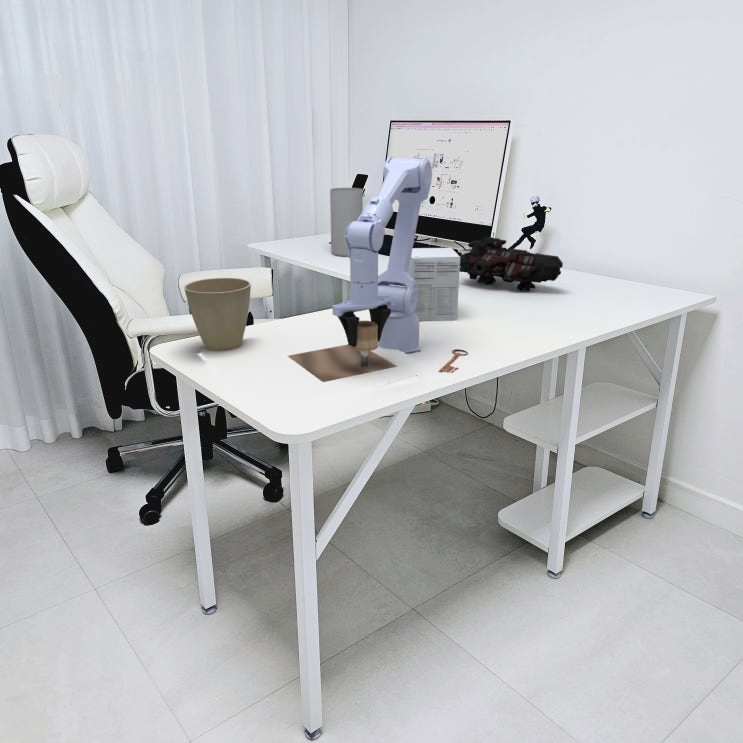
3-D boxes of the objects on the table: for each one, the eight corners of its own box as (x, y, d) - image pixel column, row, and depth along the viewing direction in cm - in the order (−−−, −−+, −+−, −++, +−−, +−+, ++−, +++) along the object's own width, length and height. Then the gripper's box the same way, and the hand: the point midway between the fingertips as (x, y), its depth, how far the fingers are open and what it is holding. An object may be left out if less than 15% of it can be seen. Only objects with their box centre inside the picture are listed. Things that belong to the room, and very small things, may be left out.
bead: (367, 340, 145) (367, 319, 143) (382, 347, 141) (382, 325, 139) (346, 345, 142) (345, 323, 140) (361, 352, 138) (360, 330, 136)
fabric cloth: (357, 348, 158) (356, 342, 157) (397, 372, 143) (397, 366, 143) (287, 362, 149) (287, 355, 148) (323, 388, 135) (323, 382, 134)
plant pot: (264, 342, 162) (260, 278, 156) (239, 363, 148) (234, 294, 142) (208, 338, 165) (202, 275, 159) (179, 358, 151) (171, 290, 145)
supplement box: (458, 320, 179) (461, 256, 173) (409, 321, 178) (411, 257, 172) (449, 307, 191) (452, 247, 185) (404, 308, 190) (405, 247, 184)
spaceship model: (545, 302, 197) (550, 252, 191) (451, 285, 215) (453, 239, 210) (570, 289, 211) (575, 242, 206) (480, 275, 229) (482, 231, 224)
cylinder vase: (350, 258, 255) (350, 191, 246) (325, 254, 261) (323, 189, 252) (368, 253, 265) (368, 188, 256) (343, 249, 271) (342, 187, 262)
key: (456, 378, 142) (477, 356, 155) (457, 374, 142) (478, 352, 154) (431, 371, 144) (454, 350, 157) (432, 368, 144) (454, 347, 157)
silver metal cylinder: (365, 363, 144) (365, 337, 142) (369, 365, 143) (369, 339, 140) (359, 364, 143) (359, 338, 141) (363, 367, 142) (362, 340, 140)
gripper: (381, 272, 143) (380, 332, 148) (324, 281, 135) (325, 343, 140) (401, 278, 138) (399, 340, 143) (342, 288, 130) (343, 353, 135)
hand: (364, 342), depth 141 cm, fingers closed on bead, 6 cm apart
